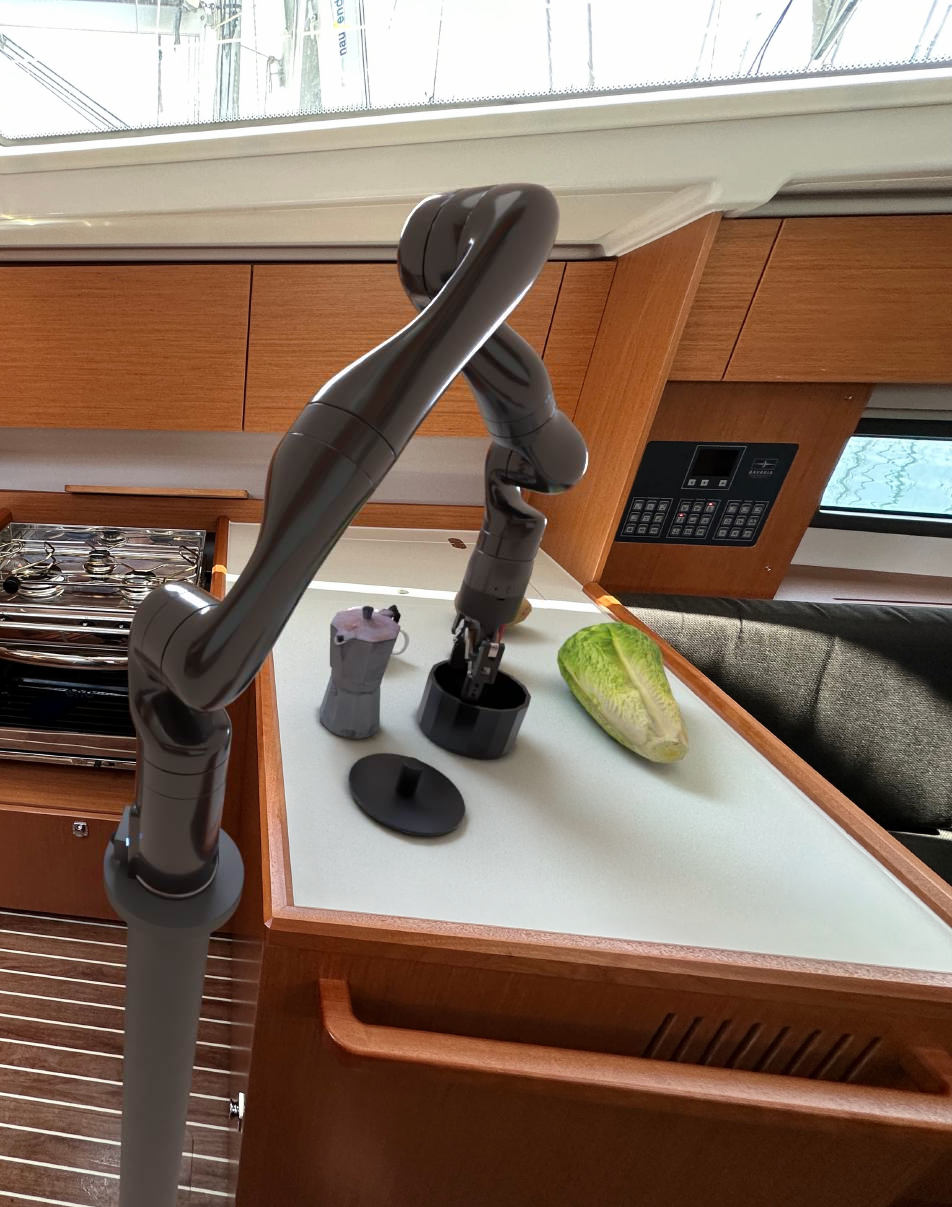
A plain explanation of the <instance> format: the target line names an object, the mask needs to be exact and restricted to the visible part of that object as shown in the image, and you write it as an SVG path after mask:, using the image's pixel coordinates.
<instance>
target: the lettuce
mask: <svg viewBox="0 0 952 1207" xmlns="http://www.w3.org/2000/svg"><path fill="white" fill-rule="evenodd" d="M556 661H557V665H558V669H559V673H560V676H561V677H562V679H563V680H564V681H565V683H566V685H567V686H568V688H569V690H570V691H571V693H572V694H573V696H575V698H576V699H577V700H578V701H579V703H580V704H581V705H582V706H583V708H584V709H585V710H586V712H588V714H589V715H590V716H591V717H592V718H593V720H595V721H596V722H597V723H598V724H599V726H601V728H603V730H605V732H606V733H607V734H608V735H609V736H611V737H612V738H613V739H615V740H616V741H617V742H619V743H620V744H621V745H623V746H625V747H626V748H627V749H629V750H631V751H632V752H634V753H636V754H637V755H639V756H641V757H643V758H645V759H647V760H650V761H652V762H653V763H654V762H655V763H664V764H670V763H675V762H677V761H680V760H683V759H685V756H686V755H687V753H688V752H689V750H690V745H691V740H690V735H689V732H688V728H687V725H686V721H685V719H684V716H683V713H682V711H681V709H680V706H679V704H678V702H677V700H676V699H675V697H674V693H673V691H672V688H671V684H670V682H669V679H668V677H667V674H666V671H665V667H664V656H663V653H662V651H661V649H660V647H659V645H658V643H656V642H655V641H654V640H653V639H652V638H651V637H650V636H648V634H646V633H644V632H643V631H642V630H640V629H639V628H637V626H636V627H635V626H633V625H631V624H628V623H626V622H624V621H613V622H612V621H611V622H601V623H596V624H594V625H593V624H592V625H590V626H585V627H582V628H581V629H579V630H578V631H576V632H574V634H572V635H570V636H569V637H568V638H567V639H566V640H565V641H564V642H563V644H562V645H561V646H560V648H559V649H558V651H557V658H556Z"/></svg>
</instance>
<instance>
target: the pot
mask: <svg viewBox="0 0 952 1207" xmlns="http://www.w3.org/2000/svg"><path fill="white" fill-rule="evenodd" d="M448 661H449V659H444V660H441V661H439V662H436V663H434V664H433V665H432V667H431V669H430V670H429V673H428V676H427V679H426V682H425V686H424V689H423V692H422V695H421V699H420V703H419V707H418V710H417V713H416V722H417V726H418V728H419V730H420V731H421V733H422V734H423V735H424V736H425V737H426V738H427V739H428V740H430V741H431V742H432V743H434V744H435V745H436V746H438V747H440V748H442V749H444V750H445V751H447V752H449V753H452V754H455V755H457V756H461V757H463V758H464V757H465V758H467V759H472V760H480V761H492V760H498V759H501V758H503V757H504V758H505V757H506V756H507V755H508V754H510V752H511V751H512V750H513V747H514V745H515V743H516V740H517V737H518V734H519V732H520V730H521V727H522V724H523V721H524V720H525V717H526V715H527V712H528V709H529V707H530V703H531V699H532V695H531V693H530V691H529V690H528V688H527V686H526V685H525V684H523V683H522V681H520V680H518V679H517V678H516V677H515V676H513V675H512V674H509V673H508V672H505V671H504V670H502V669H500V668H499V669H498V672H497V675H496V678H495V681H494V683H493V684H489V683H484V685H483V688H482V691H481V694H480V697H479V700H478V701H476V702H474V701H467V700H463V699H462V697H461V692H462V688H463V685H464V682H465V679H466V676H467V672H468V661H466V664H465V667H464V668H463V669H457V668H451V667H450V666H449V664H448ZM475 664H476V662H475ZM490 669H491V668H490ZM481 671H483V668H482V669H481Z"/></svg>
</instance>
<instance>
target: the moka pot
mask: <svg viewBox="0 0 952 1207" xmlns="http://www.w3.org/2000/svg"><path fill="white" fill-rule="evenodd" d="M361 607H362V609H354V610H348V609H347V610H348V611H347V610H342V611H337V612H336V614H335V615H334V617H333V619H332V620H331V621H330V624H329V635H330V636H329V667H330V668H331V669H330V676H329V679H328V683H327V684H326V685H327V686H326V688H325V692H324V694H323V698H322V701H321V704H320V708H319V721H320V722H321V724H322V725H323V726H324V727H325V729H327V730H328V731H329V732H331V733H333V734H335V735H338V736H340V737H344V738H348V739H364V738H369V737H371V736H372V735H374V734H375V733H376V732H378V730H379V729H380V724H381V722H380V721H381V719H380V718H381V685H382V682H383V678H384V675H385V672H386V670H387V667H388V664H389V662H390V659H391V656H392V655H391V653H392V651H394V647H395V646H396V643H397V640H398V637H399V634H400V632H399V631H400V628H402V627H401V626H400V624H399V623H400V619H401V617H402V615H401V613H400V610H399V609H398V606H397V605H396V604H392V605H391V606H389V607H388V608H382V609H380V610H379V612H373V611H374V609H375V608H374V607H373V606H370V605H364V606H361Z"/></svg>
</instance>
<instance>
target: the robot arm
mask: <svg viewBox="0 0 952 1207" xmlns="http://www.w3.org/2000/svg"><path fill="white" fill-rule="evenodd" d="M560 214H561V213H560V205H559V202H558V199H557V197H556V195H555V194H554V193H553V192H552V191H551V190H550V188H548V187H547V186H544V185H542V184H539V183H534V182H523V181H521V182H519V181H518V182H517V181H515V182H504V183H500V184H499V183H497V184H490V185H482V186H474V187H473V186H472V187H464V188H456V189H449V190H445V191H440V192H436V193H435V194H433V195H430V196H428V197H426V198H424V199H423V200H422V201H421V202H420V203H419V202H418V204H417V205H416V206H415V208H414V209H413V210H412V211H411V213H409V215H408V217H407V219H406V221H405V223H404V225H403V227H402V230H401V233H400V236H399V240H398V244H397V251H396V252H397V253H396V267H397V268H396V269H397V274H398V277H399V281H400V285H401V287H402V289H403V292H404V293H405V295H406V296H407V298H408V300H409V301H410V303H411V305H412V306H413V308H414V309H415V311H416V312H417V313H418V315H417V316H416V317H415V318H414V319H413V320H412V321H411V322H409V323H408V324H407V325H406V326H404V327H403V328H402V329H401V330H399V331H397V332H396V333H395V334H393V335H392V336H390V337H389V338H388V339H386V340H384V341H383V342H381V343H380V344H378V345H377V346H375V347H374V348H372V349H371V350H370V351H368V352H366V353H364V354H363V355H362V356H360V357H359V358H358V359H356V360H354V361H352V362H351V363H350V364H348V365H347V366H345V367H343V369H341V370H339V372H337V373H336V374H334V375H333V376H332V377H330V378H329V379H328V380H327V381H326V382H324V384H322V385H321V387H320V388H319V389H317V390H316V392H315V393H314V394H313V395H312V396H311V398H310V399H309V400H308V401H307V403H306V404H305V405H304V407H303V408H302V410H301V411H300V413H298V416H297V417H296V418H295V420H294V421H293V423H292V424H291V425H290V427H289V428H288V430H287V431H286V432H285V434H284V435H283V437H282V438H281V439H280V441H279V442H278V444H277V446H276V448H275V449H274V451H273V453H272V456H271V458H270V461H269V464H268V468H267V473H266V478H265V485H264V491H263V492H264V494H263V500H262V508H261V509H262V510H261V519H260V520H261V521H260V525H259V526H260V527H259V532H258V535H257V539H256V542H255V546H254V549H253V551H252V553H251V555H250V557H249V559H248V561H247V563H246V565H245V566H244V568H243V570H242V572H241V573H240V575H239V576H238V578H237V580H236V581H235V582H234V584H233V585H232V587H231V588H230V589H229V591H228V592H227V594H226V595H225V596H224V598H222V599H220V598H219V597H217V596H215V595H213V594H212V593H211V592H209V591H207V590H205V589H204V588H202V587H201V586H199V585H197V584H196V583H192V582H190V581H185V580H172V581H168V582H165V583H162V584H160V585H159V586H157V587H155V588H154V589H152V590H151V591H150V592H149V593H148V594H147V595H146V596H144V598H143V599H142V600H141V602H140V604H139V605H138V607H137V609H136V610H135V612H134V615H133V617H132V620H131V623H130V628H129V632H128V638H127V687H128V688H127V690H128V708H129V714H130V719H131V721H132V724H133V726H134V729H135V732H136V735H135V736H136V741H135V742H136V746H135V747H136V748H135V774H134V777H135V778H134V797H133V800H132V802H131V806H130V805H125V807H124V809H123V812H122V815H121V818H120V821H119V823H118V827H117V829H115V830H114V831H113V832H112V831H111V833H110V834H109V842H110V841H111V843H112V844H113V845H114V860H119V861H124V862H128V864H127V877H128V878H131V879H135V880H137V881H138V883H139V884H140V885H141V886H142V887H143V888H144V889H145V890H146V891H148V892H149V893H151V894H153V895H155V896H157V897H159V898H162V899H166V900H174V901H179V900H187V899H191V898H194V897H196V896H198V895H200V894H201V893H203V892H204V891H205V890H206V889H207V888H208V887H209V886H210V885H211V883H212V882H213V880H214V877H215V874H216V867H217V852H218V867H219V836H220V828H221V829H222V819H223V811H224V803H225V795H226V794H225V793H226V786H227V779H228V778H227V777H228V776H227V775H228V769H229V760H230V754H231V753H230V752H231V748H232V747H231V746H232V736H233V728H232V722H231V718H230V716H229V713H228V711H227V710H226V707H227V706H230V705H231V704H232V703H233V702H234V701H235V700H237V698H239V697H240V695H242V694H243V693H244V691H246V689H247V688H248V687H249V685H250V684H251V683H252V681H253V680H254V679H255V677H256V676H257V675H258V674H259V672H260V670H261V669H262V667H263V666H264V664H265V663H266V660H267V659H268V657H269V655H270V654H271V652H272V650H273V649H274V647H275V645H276V643H277V642H278V640H279V638H280V636H281V635H282V633H283V631H284V630H285V628H286V626H287V624H288V622H289V620H290V619H291V617H292V615H293V614H294V612H295V610H296V609H297V607H298V605H299V603H300V601H301V600H302V598H303V597H304V595H305V593H306V591H307V590H308V588H309V586H310V585H311V583H312V582H313V580H314V579H315V577H316V575H317V574H318V572H319V571H320V570H321V568H322V567H323V565H324V563H325V562H326V560H327V559H328V557H329V556H330V554H331V553H332V551H333V550H334V549H335V547H336V545H337V544H338V543H339V541H340V540H341V539H342V537H343V535H344V534H345V533H346V531H347V530H348V529H349V527H350V525H351V524H352V523H353V521H354V520H355V518H356V517H357V516H358V515H359V513H360V512H361V511H362V510H363V508H364V507H365V505H366V504H367V503H368V502H369V500H370V499H371V498H372V497H373V495H374V494H375V492H376V491H377V490H378V488H379V487H380V485H381V484H382V483H383V481H384V480H385V478H386V477H387V476H388V474H389V473H390V471H391V470H392V468H393V467H394V466H395V464H396V463H397V461H398V460H399V458H400V457H401V455H402V454H403V452H404V451H405V450H406V447H407V446H408V444H409V443H410V441H411V440H412V439H413V436H414V435H415V434H416V432H417V431H418V430H419V429H420V427H421V426H422V424H423V423H424V422H425V420H426V419H427V417H428V416H429V415H430V413H432V411H433V409H434V408H435V406H437V404H438V402H439V401H440V400H441V399H442V397H443V396H444V395H445V394H446V392H447V391H448V389H449V388H450V387H451V385H452V384H453V383H454V382H455V380H456V378H457V377H458V376H459V375H460V374H461V376H462V377H463V378H464V379H463V380H464V381H465V382H466V384H467V386H468V388H469V390H470V392H471V394H472V396H473V399H474V401H475V403H476V406H477V409H478V411H479V414H480V417H481V418H482V421H483V425H484V427H485V429H486V432H487V434H488V435H489V437H490V439H491V440H492V442H491V443H490V445H489V447H488V450H487V452H486V455H485V460H484V469H483V472H484V476H483V477H484V501H483V502H484V503H483V504H484V513H483V519H482V522H481V526H480V528H479V533H478V536H477V539H476V543H475V545H474V549H473V551H472V553H471V554H470V557H469V558H468V562H467V566H466V569H465V572H464V575H463V579H462V582H461V585H460V588H459V591H460V592H459V591H458V592H459V595H458V598H457V602H456V607H457V609H458V612H457V613H456V615H455V618H454V621H453V624H452V627H451V629H450V632H451V635H454V636H453V637H452V644H453V646H452V648H451V652H450V655H449V659H448V660H449V661H448V664H449V666H450V667H451V668H457V669H463V668H464V667H465V664H466V661H468V672H467V676H466V679H465V682H464V685H463V688H462V692H461V697H462V699H463V700H467V701H474V702H476V701H478V700H479V697H480V694H481V691H482V688H483V685H484V683H489V684H493V683H494V681H495V678H496V675H497V672H498V669H500V665H501V662H502V659H503V656H504V653H505V650H506V644H505V643H504V642H500V643H498V638H499V633H498V628H499V627H500V626H502V625H505V624H510V623H512V622H513V621H515V619H516V617H517V615H518V612H519V609H520V606H521V603H522V600H523V598H524V597H525V595H526V592H527V589H528V586H529V584H530V581H531V577H532V575H533V569H534V564H535V560H536V557H537V554H538V551H539V548H540V546H541V543H542V539H543V537H544V534H545V532H546V529H547V523H548V520H547V516H546V515H545V514H544V513H543V512H542V511H541V510H539V509H537V508H536V507H534V506H532V505H531V504H529V503H528V502H526V500H525V499H524V498H523V496H522V492H521V489H524V490H527V491H530V492H534V493H539V494H541V495H542V494H543V495H548V496H556V495H561V494H564V493H566V492H568V491H570V490H571V489H573V488H575V487H576V486H577V485H578V484H579V483H580V482H581V480H582V479H583V477H584V475H585V473H586V471H587V468H588V463H589V450H588V445H587V442H586V441H585V438H584V436H583V435H582V432H580V430H579V429H578V427H576V425H575V424H574V422H572V420H571V419H570V418H569V416H568V415H567V414H566V413H565V411H563V409H561V408H560V406H559V405H558V403H557V399H556V398H557V397H556V394H555V391H554V386H553V383H552V379H551V375H550V371H549V370H548V367H547V365H546V363H545V361H544V360H543V358H542V357H541V355H540V354H539V353H538V352H537V351H536V350H535V348H534V347H533V346H532V345H531V344H530V343H529V342H528V341H526V340H525V339H524V338H523V336H521V335H520V334H519V333H518V332H517V331H516V330H515V329H513V328H512V327H511V325H510V324H508V323H507V322H506V320H507V319H508V318H509V316H510V315H511V314H513V312H514V311H515V310H516V308H518V306H519V305H520V304H521V302H522V301H523V300H524V299H525V297H526V296H527V295H528V293H529V292H530V291H531V289H532V288H533V286H534V284H535V283H536V282H537V280H538V278H539V277H540V275H541V273H542V272H543V270H544V268H545V267H546V264H547V262H548V261H549V258H550V255H551V253H552V251H553V249H554V246H555V242H556V240H557V235H558V231H559V228H560V220H561V219H560V218H561V215H560ZM473 652H475V653H479V655H478V656H477V655H474V654H473ZM475 662H476V664H475ZM482 668H483V671H481V669H482ZM490 668H491V669H490Z"/></svg>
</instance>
